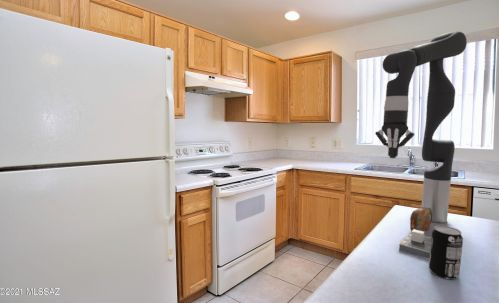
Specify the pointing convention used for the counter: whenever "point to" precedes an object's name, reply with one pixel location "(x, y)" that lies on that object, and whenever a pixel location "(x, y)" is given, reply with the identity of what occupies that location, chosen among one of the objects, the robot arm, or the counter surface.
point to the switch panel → (416, 246)
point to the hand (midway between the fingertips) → (392, 157)
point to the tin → (421, 219)
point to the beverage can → (446, 252)
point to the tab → (417, 236)
